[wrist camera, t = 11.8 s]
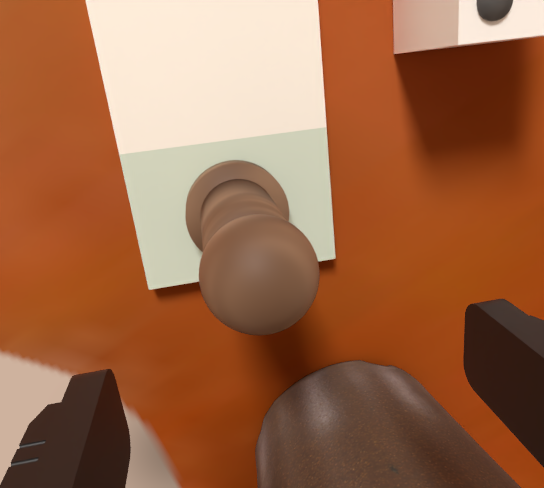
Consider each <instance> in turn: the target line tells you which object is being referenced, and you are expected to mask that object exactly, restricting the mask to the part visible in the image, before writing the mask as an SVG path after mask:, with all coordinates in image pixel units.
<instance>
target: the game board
mask: <svg viewBox="0 0 544 488" xmlns="http://www.w3.org/2000/svg"><path fill="white" fill-rule="evenodd" d="M86 4H87V9H88V14H89V18H90V23H91V27H92V32H93V36H94V41H95V46H96V50H97V55H98V59H99V64H100V69H101V73H102V78H103V82H104V87H105V91H106V96H107V101H108V105H109V110H110V114H111V119H112V123H113V128H114V133H115V137H116V142H117V146H118V151H119V155H120V160H121V165H122V169H123V174H124V178H125V183H126V187H127V192H128V197H129V201H130V206H131V210H132V215H133V219H134V224H135V229H136V233H137V238H138V242H139V247H140V251H141V256H142V261H143V265H144V270H145V274H146V279H147V284H148V288H149V290H151V289H157V288H163V287H169V286H175V285H181V284H187V283H193V282H199V266H200V260H201V257H202V254H203V252H202V251H201V250H200V249H199V248H198V247H197V246H196V245H195V244H194V242H193V241H192V239H191V237H190V235H189V232H188V230H187V226H186V218H185V213H186V200H187V196H188V193H189V190H190V188H191V186H192V185H193V183H194V181H195V180H196V179H197V178H198V177H199V175H200V174H202V173H203V172H204V171H205V170H206V169H208V168H209V167H211V166H213V165H215V164H218V163H221V162H224V161H229V160H243V161H248V162H251V163H254V164H257V165H259V166H261V167H262V168H264V169H265V170H267V171H268V172H269V173H270V174H271V175H272V176H273V177H274V178H275V179H276V180H277V182H278V183H279V184H280V185H281V187H282V189H283V190H284V192H285V194H286V197H287V200H288V205H289V222H290V223H291V224H293V225H294V226H296V227H297V228H298V229H299V230H300V231H301V232H302V233H303V234H304V235H305V236H306V237H307V238H308V240H309V241H310V243H311V245H312V246H313V249H314V251H315V253H316V256H317V259H318V262H319V261H325V260H331V259H335V244H334V230H333V215H332V200H331V186H330V171H329V157H328V142H327V128H326V113H325V99H324V84H323V70H322V55H321V40H320V26H319V11H318V0H86Z"/></svg>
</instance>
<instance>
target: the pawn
mask: <svg viewBox="0 0 544 488" xmlns="http://www.w3.org/2000/svg"><path fill="white" fill-rule="evenodd" d="M185 218H186V226H187V230H188V232H189V235H190V237H191V239H192V241H193V242H194V244H195V245H196V246H197V247H198V248H199V249H200V250H201V251H202V252H203V254H202V257H201V260H200V266H199V285H200V289H201V293H202V296H203V298H204V301H205V303H206V304H207V306H208V308H209V309H210V311H211V312H212V313H213V314H214V316H215V317H216V318H217V319H219V320H220V321H221V322H222V323H223V324H225V325H226V326H228V327H230V328H231V329H233V330H236V331H238V332H241V333H245V334H250V335H268V334H273V333H277V332H280V331H282V330H285V329H287V328H289V327H290V326H292V325H293V324H295V323H296V322H297V321H298V320H300V319H301V318H302V317H303V316H304V315H305V313H306V312H307V311H308V309H309V308H310V306H311V305H312V303H313V301H314V299H315V296H316V293H317V290H318V285H319V265H318V259H317V256H316V253H315V251H314V249H313V246H312V245H311V243H310V241H309V240H308V238H307V237H306V236H305V235H304V234H303V233H302V232H301V231H300V230H299V229H298V228H297V227H296V226H294V225H293V224H291V223H290V222H289V205H288V200H287V197H286V194H285V192H284V190H283V189H282V187H281V185H280V184H279V183H278V182H277V180H276V179H275V178H274V177H273V176H272V175H271V174H270V173H269V172H268V171H267V170H265V169H264V168H262V167H261V166H259V165H257V164H254V163H251V162H248V161H243V160H229V161H224V162H221V163H218V164H215V165H213V166H211V167H209V168H208V169H206V170H205V171H204V172H203V173H202V174H200V175H199V177H198V178H197V179H196V180H195V181H194V183H193V185H192V186H191V188H190V190H189V193H188V196H187V200H186V213H185Z"/></svg>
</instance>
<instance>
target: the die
mask: <svg viewBox="0 0 544 488" xmlns="http://www.w3.org/2000/svg"><path fill="white" fill-rule="evenodd" d="M393 28H394V54H399V53H408V52H417V51H425V50H434V49H443V48H451V47H460V46H469V45H478V44H486V43H495V42H504V41H511V40H519V39H526V38H534V37H541V36H544V0H393Z"/></svg>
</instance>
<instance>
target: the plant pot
mask: <svg viewBox="0 0 544 488" xmlns="http://www.w3.org/2000/svg"><path fill="white" fill-rule="evenodd" d="M255 455H256V466H257V482H258V488H521V487H520V486H519V485H518V484H517V483H516V482H515V481H514V480H513V479H512V478H511V477H510V476H509V475H508V474H507V473H506V472H505V471H504V470H503V469H502V468H501V467H500V466H499V465H498V464H497V463H496V462H495V461H494V460H493V459H492V458H491V457H490V456H489V455H488V454H487V453H486V452H485V451H484V450H483V449H482V448H481V447H480V446H479V445H478V444H477V443H476V441H475V440H474V439H473V438H472V437H471V436H470V435H469V434H468V433H467V432H466V431H465V430H464V429H463V428H462V427H461V426H460V425H459V424H458V423H457V422H456V421H455V420H454V419H453V418H452V417H451V415H450V414H449V413H448V412H447V411H446V410H445V409H444V408H443V407H442V406H441V405H440V404H439V403H438V402H437V401H436V400H435V399H434V398H433V397H432V396H431V395H430V394H429V392H428V391H427V390H426V389H425V388H424V387H423V386H422V385H421V384H420V383H419V382H418V381H417V380H416V379H415V378H413V377H412V376H411V375H410V374H408V373H406V372H405V371H403V370H402V369H399V368H397V367H395V366H392V365H389V366H382V365H377V364H372V363H368V362H365V361H361V360H356V361H347V362H342V363H338V364H333V365H330V366H327V367H325V368H322V369H320V370H318V371H316V372H313V373H311V374H309V375H308V376H306V377H304V378H302V379H300V380H299V381H298V382H296V383H295V384H294V385H292V386H291V387H289V388H288V389H287V390H286V391H285V392H284V393H283V394H282V395H281V396H279V397H278V398H277V399H276V400H275V401H274V403H273V404H272V406H271V407H270V409H269V410H268V412H267V413H266V415H265V417H264V420H263V425H262V429H261V432H260V435H259V438H258V441H257V444H256V450H255Z"/></svg>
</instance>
